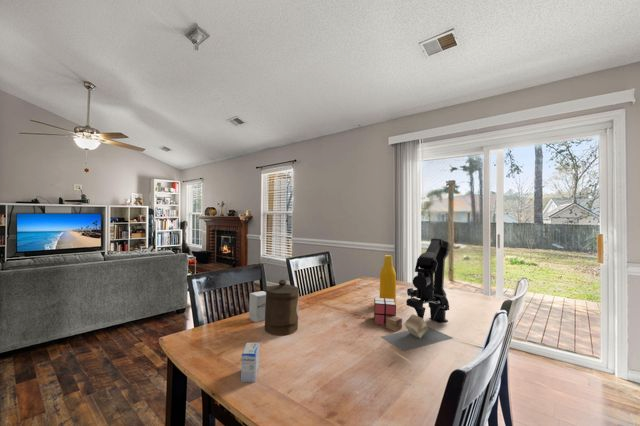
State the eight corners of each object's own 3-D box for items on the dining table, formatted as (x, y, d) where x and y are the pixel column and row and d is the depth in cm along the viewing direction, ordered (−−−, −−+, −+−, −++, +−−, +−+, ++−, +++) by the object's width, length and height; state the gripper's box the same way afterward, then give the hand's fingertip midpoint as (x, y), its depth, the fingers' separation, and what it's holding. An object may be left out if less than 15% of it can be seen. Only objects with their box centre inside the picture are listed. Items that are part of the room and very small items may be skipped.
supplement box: (255, 322, 133) (256, 296, 133) (248, 318, 138) (249, 292, 139) (269, 319, 138) (270, 293, 138) (261, 315, 143) (262, 290, 143)
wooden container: (304, 328, 127) (305, 280, 127) (278, 339, 116) (279, 285, 116) (283, 320, 137) (284, 275, 137) (257, 328, 126) (259, 279, 126)
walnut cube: (392, 326, 132) (392, 315, 132) (401, 329, 128) (401, 318, 128) (386, 328, 129) (386, 317, 129) (395, 332, 125) (395, 321, 125)
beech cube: (418, 323, 125) (412, 314, 123) (429, 328, 119) (423, 318, 118) (409, 333, 123) (403, 323, 121) (420, 339, 117) (414, 329, 116)
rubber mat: (427, 327, 132) (427, 326, 132) (453, 338, 119) (453, 337, 119) (380, 337, 119) (380, 336, 119) (403, 352, 106) (403, 351, 106)
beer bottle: (383, 302, 169) (383, 254, 170) (398, 305, 164) (398, 255, 164) (376, 305, 162) (377, 255, 162) (392, 309, 156) (392, 257, 157)
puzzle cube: (395, 326, 132) (396, 304, 132) (374, 324, 134) (374, 303, 134) (394, 318, 142) (394, 298, 142) (373, 317, 144) (374, 297, 144)
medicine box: (245, 368, 93) (245, 342, 93) (258, 368, 93) (259, 342, 94) (240, 382, 85) (241, 353, 85) (255, 382, 86) (256, 353, 86)
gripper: (427, 279, 135) (427, 311, 134) (397, 283, 126) (397, 318, 126) (447, 284, 125) (447, 319, 124) (416, 288, 116) (416, 326, 116)
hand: (426, 320), depth 123 cm, fingers open, 7 cm apart
